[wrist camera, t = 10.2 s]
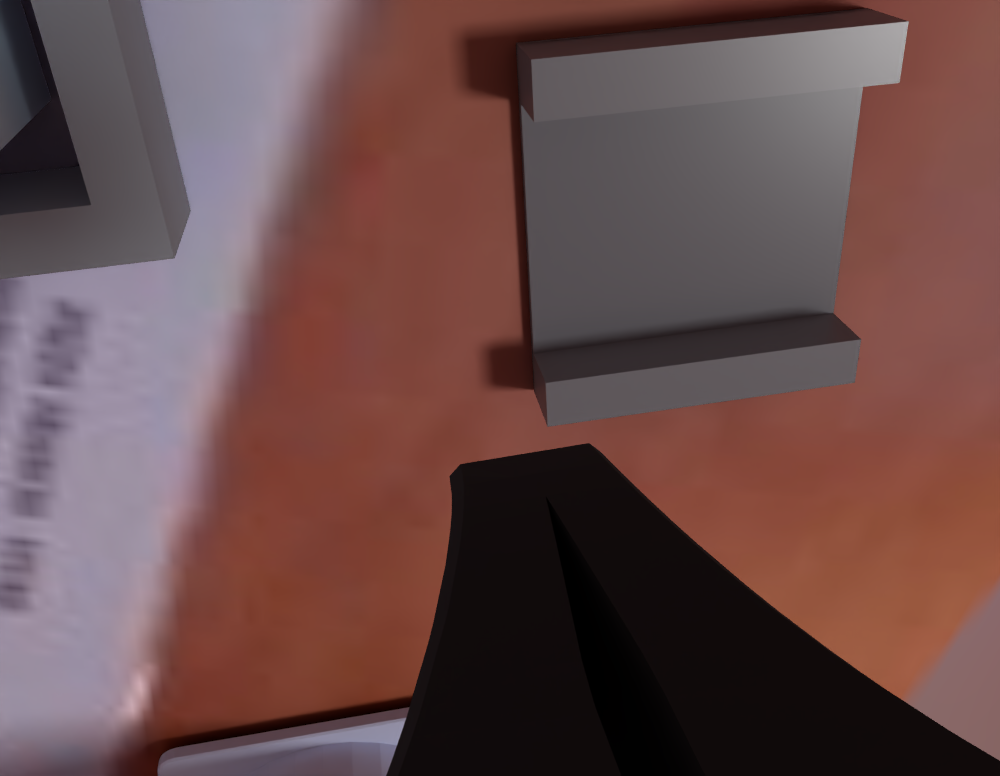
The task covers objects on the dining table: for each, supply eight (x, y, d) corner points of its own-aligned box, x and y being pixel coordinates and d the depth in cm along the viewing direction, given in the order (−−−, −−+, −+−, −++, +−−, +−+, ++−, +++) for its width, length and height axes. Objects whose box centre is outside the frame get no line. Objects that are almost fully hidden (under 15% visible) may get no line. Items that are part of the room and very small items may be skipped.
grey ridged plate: (823, 351, 21) (854, 382, 19) (533, 391, 20) (547, 426, 19) (866, 8, 17) (908, 21, 16) (515, 42, 16) (531, 59, 15)
